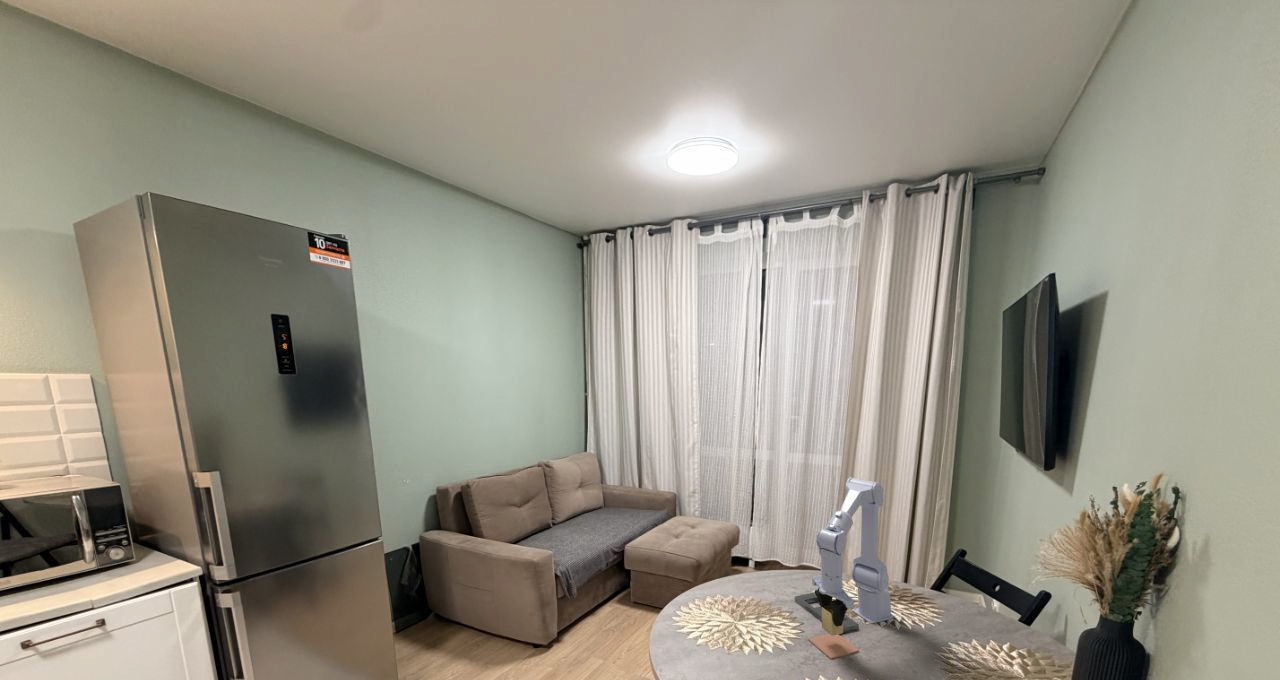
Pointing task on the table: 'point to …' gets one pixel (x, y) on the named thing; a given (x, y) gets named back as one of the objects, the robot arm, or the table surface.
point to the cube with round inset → (830, 621)
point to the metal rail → (817, 612)
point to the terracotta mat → (833, 645)
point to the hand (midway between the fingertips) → (832, 621)
